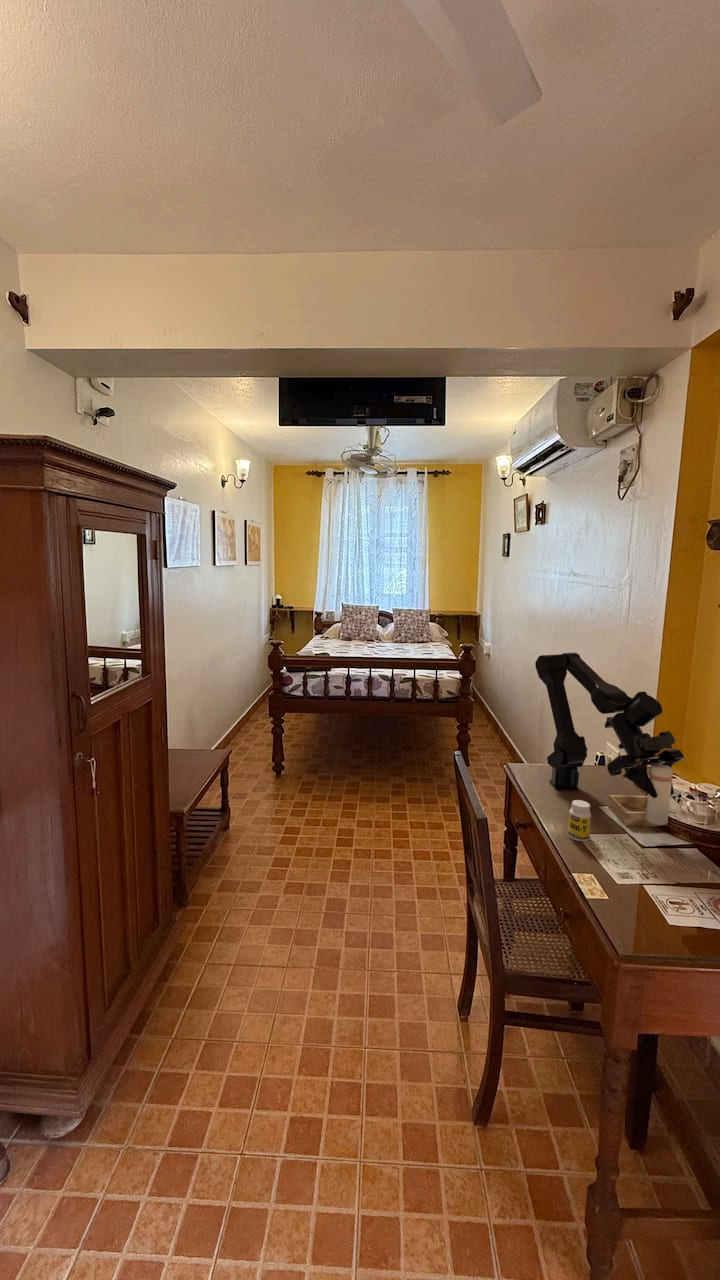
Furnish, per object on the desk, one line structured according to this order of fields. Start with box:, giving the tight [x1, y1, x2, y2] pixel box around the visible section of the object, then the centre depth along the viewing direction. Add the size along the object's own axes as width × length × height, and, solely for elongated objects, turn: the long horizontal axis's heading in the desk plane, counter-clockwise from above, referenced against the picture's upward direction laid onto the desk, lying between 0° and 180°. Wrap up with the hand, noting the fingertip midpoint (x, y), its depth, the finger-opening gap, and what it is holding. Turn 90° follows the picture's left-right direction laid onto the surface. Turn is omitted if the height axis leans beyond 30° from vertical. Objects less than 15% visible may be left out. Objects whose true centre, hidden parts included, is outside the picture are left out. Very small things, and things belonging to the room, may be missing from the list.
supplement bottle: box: [567, 799, 592, 842], centre depth 130 cm, size 5×5×8 cm
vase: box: [646, 764, 674, 825], centre depth 128 cm, size 5×5×13 cm
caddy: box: [607, 794, 668, 828], centre depth 141 cm, size 10×10×4 cm
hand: (664, 795), depth 127 cm, fingers closed on vase, 5 cm apart
